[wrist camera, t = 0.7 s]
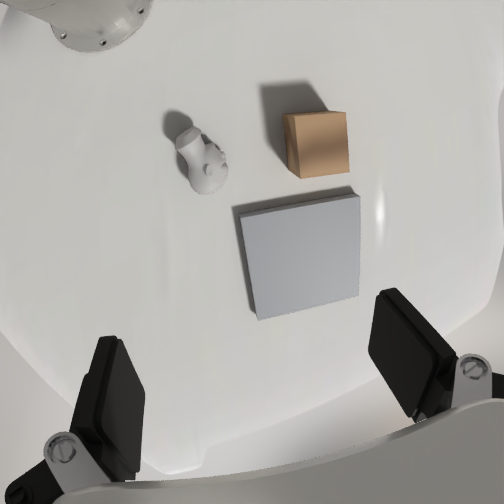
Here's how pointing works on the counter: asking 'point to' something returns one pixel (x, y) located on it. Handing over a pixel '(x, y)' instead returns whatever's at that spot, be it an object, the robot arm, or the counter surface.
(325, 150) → the walnut brick
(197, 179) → the smooth white sculpture
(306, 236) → the base board
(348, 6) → the counter surface
